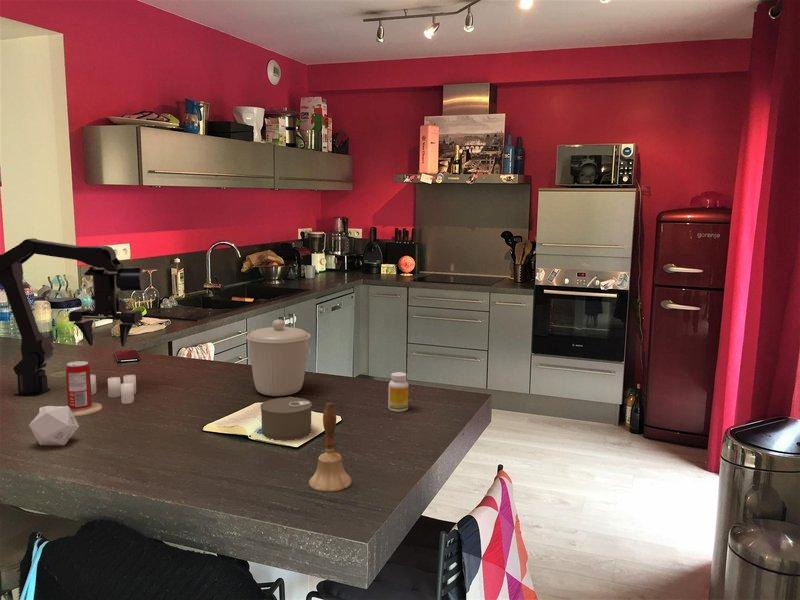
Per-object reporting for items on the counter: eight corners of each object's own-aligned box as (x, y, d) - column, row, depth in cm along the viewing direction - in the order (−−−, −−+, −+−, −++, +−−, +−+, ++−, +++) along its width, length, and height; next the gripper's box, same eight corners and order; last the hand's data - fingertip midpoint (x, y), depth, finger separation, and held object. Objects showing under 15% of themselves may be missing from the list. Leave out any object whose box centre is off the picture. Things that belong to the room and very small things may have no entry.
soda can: (84, 403, 173) (82, 358, 171) (96, 407, 170) (93, 361, 168) (63, 408, 168) (61, 362, 166) (75, 412, 165) (72, 366, 163)
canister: (234, 395, 184) (232, 322, 181) (269, 380, 200) (269, 312, 197) (289, 404, 177) (289, 327, 174) (322, 387, 194) (322, 317, 191)
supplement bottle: (385, 406, 176) (385, 372, 175) (404, 405, 178) (404, 370, 176) (392, 412, 171) (392, 377, 170) (411, 411, 173) (411, 375, 171)
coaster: (50, 415, 164) (50, 413, 164) (72, 403, 174) (71, 401, 174) (89, 416, 164) (89, 414, 164) (108, 404, 174) (108, 402, 173)
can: (255, 427, 158) (255, 400, 157) (303, 421, 163) (303, 395, 162) (267, 444, 147) (267, 414, 146) (318, 437, 152) (318, 408, 151)
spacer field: (16, 429, 154) (15, 409, 153) (89, 390, 187) (88, 373, 186) (88, 431, 153) (87, 411, 152) (148, 392, 186) (148, 375, 185)
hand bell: (300, 487, 125) (300, 406, 123) (321, 471, 133) (321, 395, 130) (340, 495, 122) (340, 412, 120) (358, 478, 130) (359, 400, 127)
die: (46, 456, 140) (75, 416, 142) (13, 433, 141) (43, 394, 143) (65, 456, 148) (93, 418, 150) (34, 434, 149) (62, 397, 151)
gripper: (149, 288, 190) (151, 341, 192) (86, 287, 191) (89, 339, 193) (132, 293, 179) (134, 349, 181) (65, 292, 180) (69, 347, 182)
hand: (107, 346), depth 185 cm, fingers open, 9 cm apart
